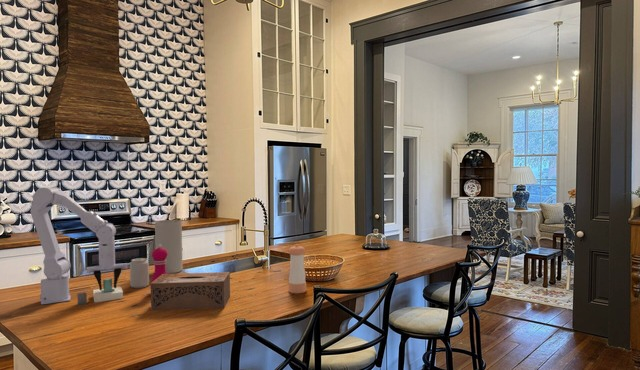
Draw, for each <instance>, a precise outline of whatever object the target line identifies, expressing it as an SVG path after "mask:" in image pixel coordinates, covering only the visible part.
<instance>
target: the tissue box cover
mask: <svg viewBox="0 0 640 370" xmlns="http://www.w3.org/2000/svg"><path fill="white" fill-rule="evenodd" d="M230 275H231V272H230V271H224V272H222V271H221V272H191V273H188V272H184V273H182V272H181V273H180V272H179V273H172V274H162V275H161V276H160V277H158V278H157V279H156V280H154V281H153V282H152V283H151V282H150V310H151V312H152V311H171V310H172V311H173V310H175V311H178V310H205V309H206V310H207V309H208V310H209V309H211V310H212V309H225V308H226V306H227V304H228V302H229V300H230V298H231V277H230Z"/></svg>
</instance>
